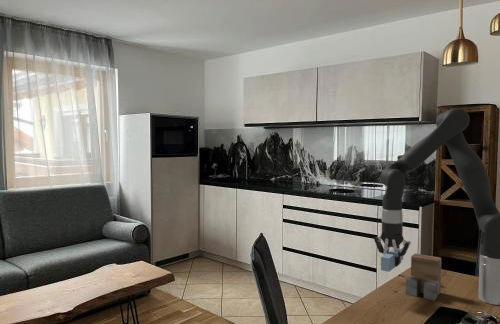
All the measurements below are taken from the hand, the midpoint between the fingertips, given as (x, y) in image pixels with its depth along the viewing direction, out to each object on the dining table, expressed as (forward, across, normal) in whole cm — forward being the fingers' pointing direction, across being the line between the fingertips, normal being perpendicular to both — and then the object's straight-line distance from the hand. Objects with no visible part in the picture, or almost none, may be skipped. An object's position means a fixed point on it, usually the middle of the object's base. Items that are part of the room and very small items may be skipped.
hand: (391, 264), depth 148 cm
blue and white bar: (0, 0, -2) cm, 2 cm away
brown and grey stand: (+13, -9, -11) cm, 19 cm away
